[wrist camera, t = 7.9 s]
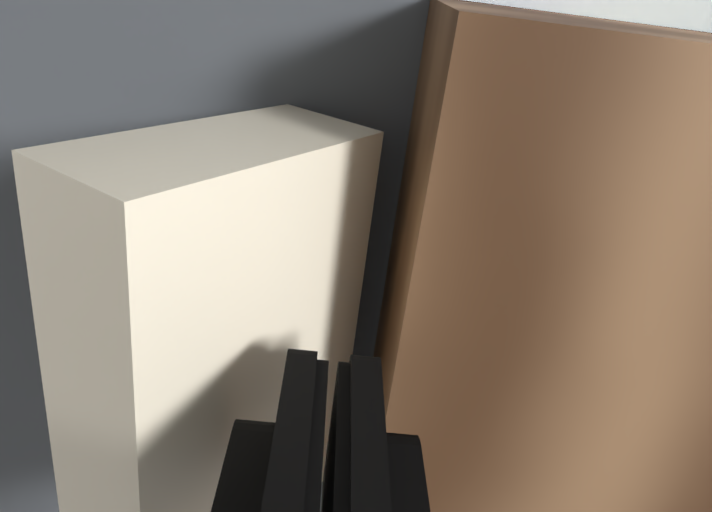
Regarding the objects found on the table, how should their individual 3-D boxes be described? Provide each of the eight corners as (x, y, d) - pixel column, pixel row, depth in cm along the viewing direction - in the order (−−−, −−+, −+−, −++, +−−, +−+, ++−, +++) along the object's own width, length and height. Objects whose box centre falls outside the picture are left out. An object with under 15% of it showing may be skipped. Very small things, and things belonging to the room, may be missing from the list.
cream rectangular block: (124, 202, 7) (11, 149, 9) (147, 651, 11) (67, 572, 13) (383, 131, 12) (287, 103, 13) (336, 467, 16) (265, 423, 17)
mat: (446, -117, 12) (448, -118, 11) (343, 533, 20) (343, 541, 19) (-441, -242, 11) (-461, -247, 11) (-175, 491, 19) (-182, 499, 18)
